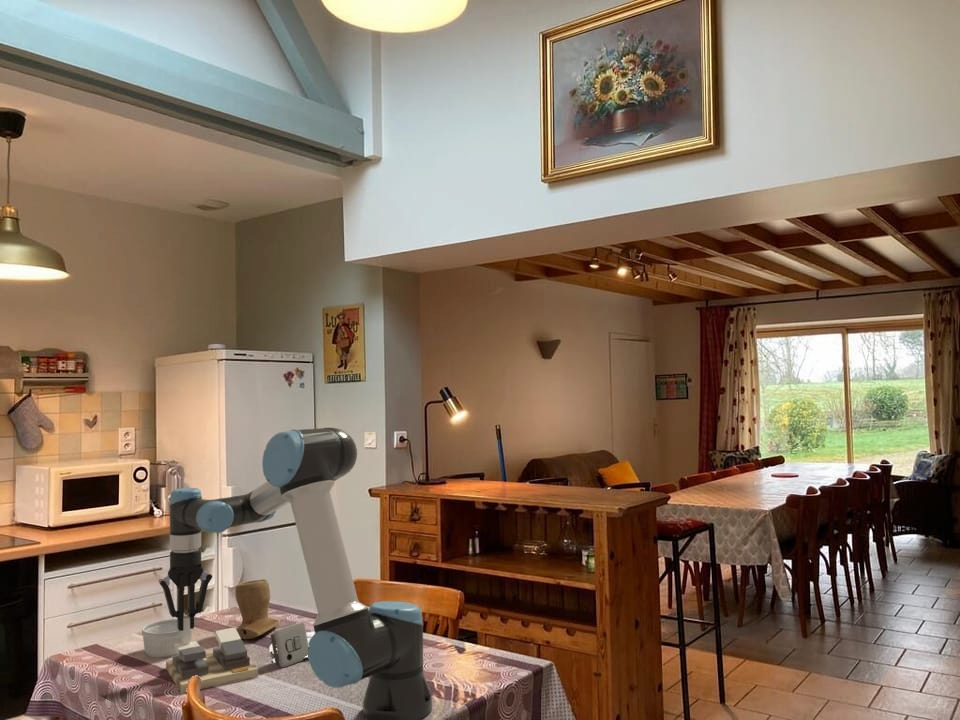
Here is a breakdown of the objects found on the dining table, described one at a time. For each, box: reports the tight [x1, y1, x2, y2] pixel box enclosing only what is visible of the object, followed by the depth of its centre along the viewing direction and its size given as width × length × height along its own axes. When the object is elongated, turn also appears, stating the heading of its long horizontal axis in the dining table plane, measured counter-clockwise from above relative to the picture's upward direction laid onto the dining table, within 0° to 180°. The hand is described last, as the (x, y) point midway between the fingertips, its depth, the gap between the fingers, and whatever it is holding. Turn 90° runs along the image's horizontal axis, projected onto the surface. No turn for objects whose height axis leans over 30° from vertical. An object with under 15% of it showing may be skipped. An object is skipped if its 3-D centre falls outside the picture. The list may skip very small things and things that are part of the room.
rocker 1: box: [175, 640, 207, 662], centre depth 194 cm, size 12×5×2 cm, turn 32°
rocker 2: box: [215, 627, 248, 661], centre depth 200 cm, size 12×5×2 cm, turn 32°
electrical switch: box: [270, 622, 310, 668], centre depth 204 cm, size 9×5×9 cm, turn 141°
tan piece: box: [234, 578, 281, 640], centre depth 229 cm, size 15×12×15 cm
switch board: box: [165, 646, 259, 694], centre depth 197 cm, size 20×18×4 cm
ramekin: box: [141, 618, 194, 658], centre depth 214 cm, size 13×13×7 cm
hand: (185, 642), depth 198 cm, fingers closed
